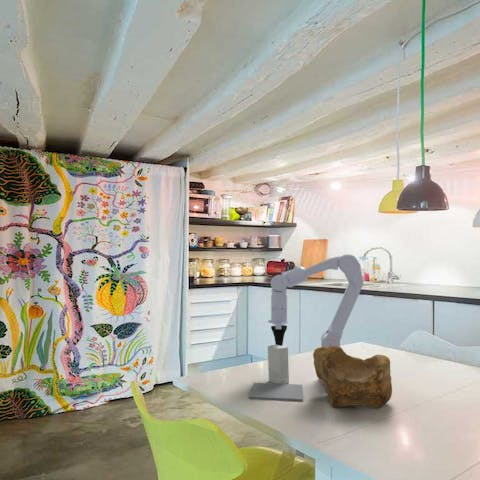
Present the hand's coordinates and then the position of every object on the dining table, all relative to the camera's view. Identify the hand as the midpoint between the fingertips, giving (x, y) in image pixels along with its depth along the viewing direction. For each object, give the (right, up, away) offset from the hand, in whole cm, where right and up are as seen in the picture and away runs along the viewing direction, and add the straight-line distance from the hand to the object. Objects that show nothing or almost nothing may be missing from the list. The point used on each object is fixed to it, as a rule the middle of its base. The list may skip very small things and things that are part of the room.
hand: (279, 346), depth 147 cm
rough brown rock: (+17, -10, -28) cm, 34 cm away
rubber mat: (-2, -10, -19) cm, 21 cm away
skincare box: (-1, -10, -8) cm, 13 cm away
